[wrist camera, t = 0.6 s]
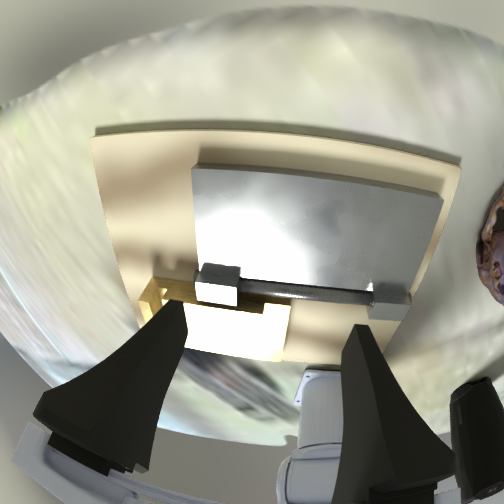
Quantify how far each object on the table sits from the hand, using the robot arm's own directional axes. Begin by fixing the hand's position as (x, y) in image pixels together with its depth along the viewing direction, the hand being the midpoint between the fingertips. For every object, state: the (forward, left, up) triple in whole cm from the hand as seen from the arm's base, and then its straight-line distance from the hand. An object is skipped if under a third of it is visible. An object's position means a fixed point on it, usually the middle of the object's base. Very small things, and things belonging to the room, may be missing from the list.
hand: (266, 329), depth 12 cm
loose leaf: (-10, +5, -9) cm, 15 cm away
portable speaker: (-25, -33, -10) cm, 43 cm away
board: (-5, +1, -10) cm, 11 cm away
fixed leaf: (-1, -2, -9) cm, 10 cm away
